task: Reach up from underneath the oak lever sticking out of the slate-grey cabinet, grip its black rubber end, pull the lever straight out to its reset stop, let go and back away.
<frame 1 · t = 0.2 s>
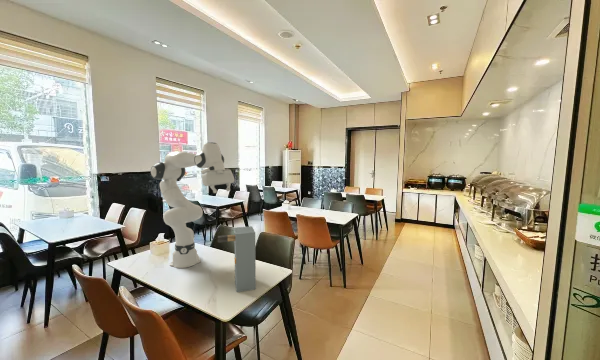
hand: (222, 191, 141), 51 cm above the table, tool tilted 20°, fingers open, 8 cm apart
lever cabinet: (244, 284, 136), on the table
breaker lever: (233, 237, 132), point 27 cm above the table, slide at 0.0 cm
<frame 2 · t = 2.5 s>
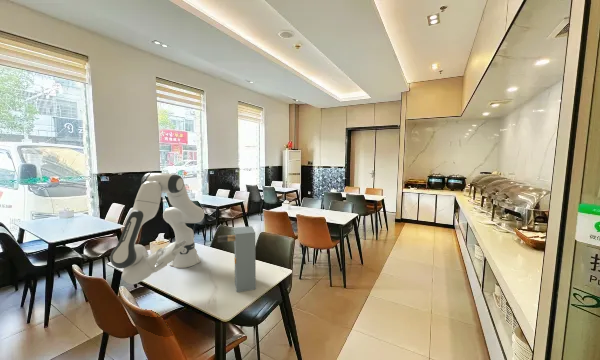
hand: (184, 244, 124), 26 cm above the table, tool pointing upward, fingers open, 8 cm apart
nothing on the table moved.
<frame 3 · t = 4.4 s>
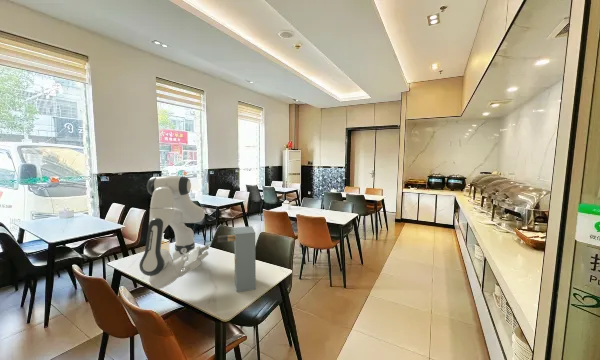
hand: (208, 249, 128), 22 cm above the table, tool pointing upward, fingers open, 8 cm apart
nothing on the table moved.
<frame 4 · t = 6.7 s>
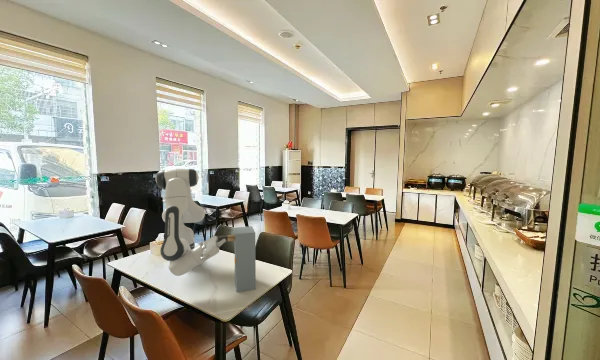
hand: (225, 238, 131), 28 cm above the table, tool pointing upward, fingers closed on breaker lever, 3 cm apart
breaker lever: (233, 237, 132), point 27 cm above the table, slide at 0.0 cm, touching gripper
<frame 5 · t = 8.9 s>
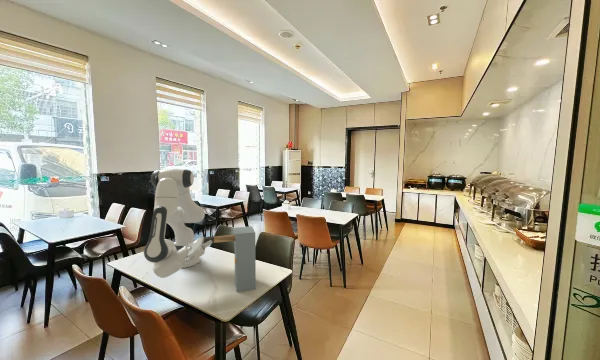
hand: (211, 239, 129), 28 cm above the table, tool pointing upward, fingers closed on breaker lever, 3 cm apart
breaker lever: (220, 239, 130), point 27 cm above the table, slide at 6.8 cm, touching gripper
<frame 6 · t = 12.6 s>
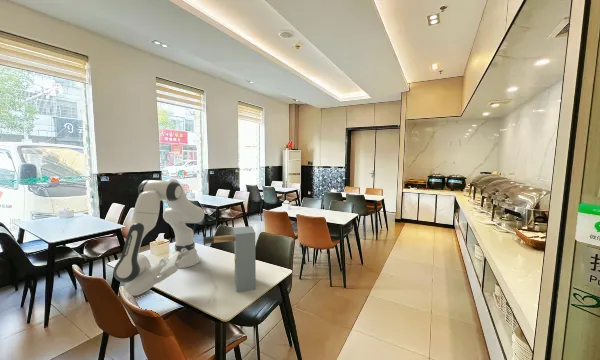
hand: (187, 254, 125), 21 cm above the table, tool pointing upward, fingers open, 8 cm apart
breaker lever: (219, 239, 130), point 27 cm above the table, slide at 7.0 cm
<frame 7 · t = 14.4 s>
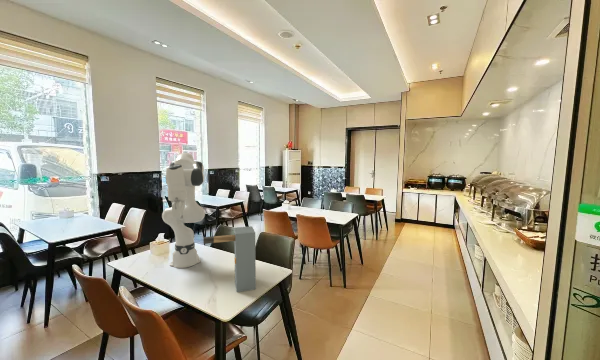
hand: (180, 221, 130), 37 cm above the table, tool pointing down, fingers open, 8 cm apart
nothing on the table moved.
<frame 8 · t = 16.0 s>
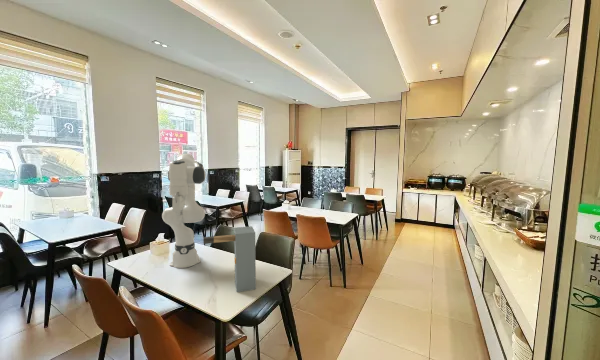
hand: (179, 217, 130), 39 cm above the table, tool pointing down, fingers open, 8 cm apart
nothing on the table moved.
at the end: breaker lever slide at 7.0 cm; the gripper is holding nothing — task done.
